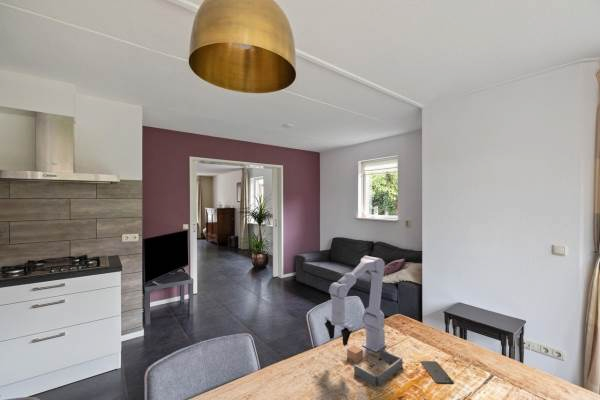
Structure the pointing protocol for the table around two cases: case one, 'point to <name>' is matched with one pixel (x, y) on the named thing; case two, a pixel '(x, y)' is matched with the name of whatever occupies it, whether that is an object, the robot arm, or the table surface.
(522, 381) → the table surface
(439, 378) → the smartphone
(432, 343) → the table surface
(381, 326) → the robot arm
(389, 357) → the box
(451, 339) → the table surface
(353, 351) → the terracotta block
